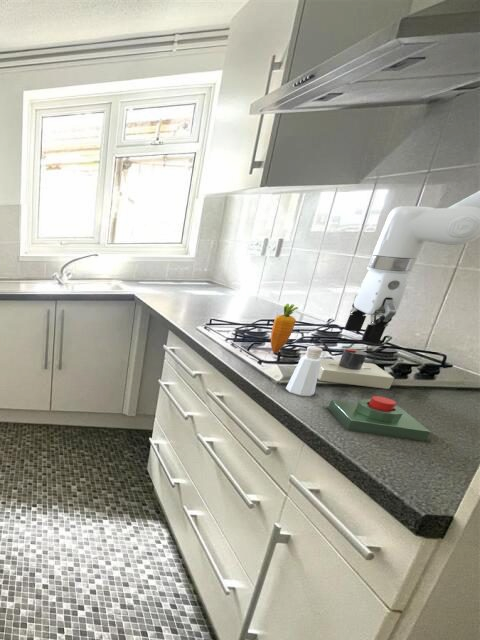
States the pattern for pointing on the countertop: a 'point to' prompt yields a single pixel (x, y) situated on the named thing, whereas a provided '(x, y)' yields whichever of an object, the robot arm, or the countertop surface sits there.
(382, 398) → the button
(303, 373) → the pepper shaker
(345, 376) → the hob panel
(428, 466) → the countertop surface
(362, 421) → the green button base
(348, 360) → the hob knob
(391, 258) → the robot arm
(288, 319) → the carrot
